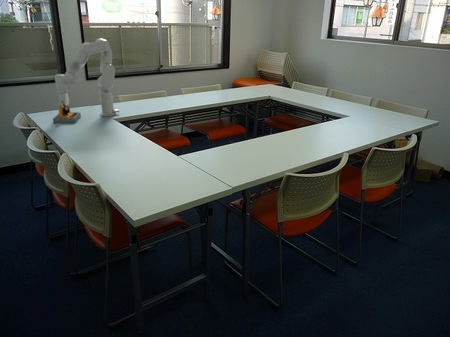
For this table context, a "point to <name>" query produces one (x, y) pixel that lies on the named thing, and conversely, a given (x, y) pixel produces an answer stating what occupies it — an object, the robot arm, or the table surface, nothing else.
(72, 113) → the bracket
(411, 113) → the table surface
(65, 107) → the robot arm
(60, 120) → the bin
